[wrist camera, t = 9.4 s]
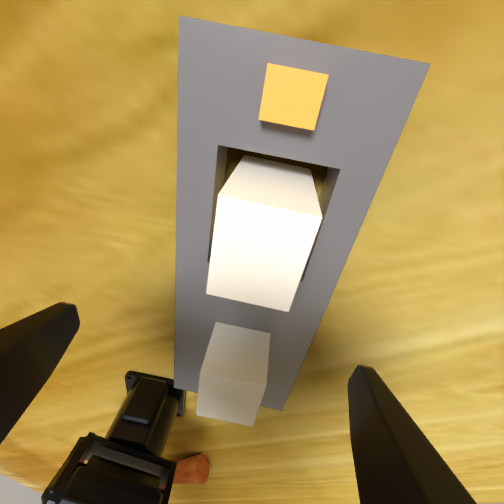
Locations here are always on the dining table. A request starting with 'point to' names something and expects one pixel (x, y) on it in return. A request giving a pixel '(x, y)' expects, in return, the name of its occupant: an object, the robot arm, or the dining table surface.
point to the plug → (263, 233)
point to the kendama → (192, 470)
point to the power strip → (281, 145)
